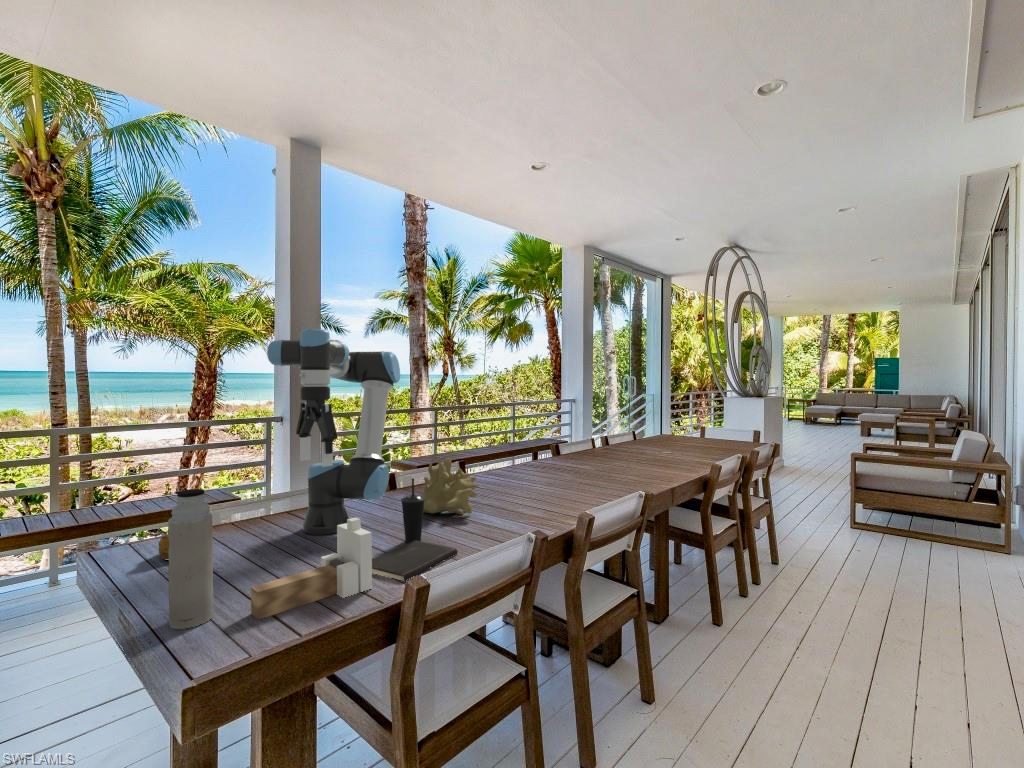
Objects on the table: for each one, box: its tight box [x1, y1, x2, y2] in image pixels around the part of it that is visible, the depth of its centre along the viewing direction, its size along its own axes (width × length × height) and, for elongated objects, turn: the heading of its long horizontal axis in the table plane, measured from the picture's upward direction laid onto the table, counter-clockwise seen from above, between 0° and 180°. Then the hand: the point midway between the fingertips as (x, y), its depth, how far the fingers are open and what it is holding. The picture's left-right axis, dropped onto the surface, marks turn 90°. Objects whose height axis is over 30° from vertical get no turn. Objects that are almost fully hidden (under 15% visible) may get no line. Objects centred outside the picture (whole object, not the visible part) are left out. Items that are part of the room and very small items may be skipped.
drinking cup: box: [400, 478, 425, 544], centre depth 158 cm, size 8×8×20 cm
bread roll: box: [158, 534, 169, 560], centre depth 145 cm, size 13×10×8 cm
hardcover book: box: [372, 540, 458, 581], centre depth 140 cm, size 16×23×2 cm
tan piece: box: [250, 559, 344, 620], centre depth 115 cm, size 20×4×7 cm, turn 136°
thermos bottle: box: [167, 488, 214, 630], centre depth 106 cm, size 8×8×28 cm
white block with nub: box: [320, 517, 373, 599], centre depth 123 cm, size 12×8×16 cm, turn 46°
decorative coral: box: [421, 457, 479, 516], centre depth 191 cm, size 26×22×25 cm
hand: (316, 463), depth 136 cm, fingers open, 13 cm apart
